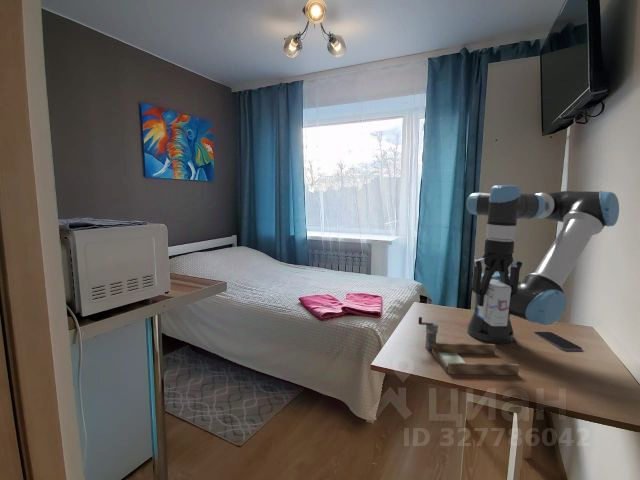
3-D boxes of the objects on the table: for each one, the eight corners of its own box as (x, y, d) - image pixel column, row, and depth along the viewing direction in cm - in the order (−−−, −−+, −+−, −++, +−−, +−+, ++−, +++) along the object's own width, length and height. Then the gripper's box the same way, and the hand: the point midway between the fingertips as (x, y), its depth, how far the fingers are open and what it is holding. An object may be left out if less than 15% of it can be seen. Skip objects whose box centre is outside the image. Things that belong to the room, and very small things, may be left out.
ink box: (475, 315, 106) (479, 278, 104) (490, 315, 106) (495, 278, 104) (491, 326, 97) (496, 286, 95) (507, 326, 98) (513, 286, 96)
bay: (487, 347, 114) (490, 317, 112) (518, 375, 97) (522, 339, 95) (415, 346, 114) (417, 315, 112) (432, 373, 97) (435, 337, 95)
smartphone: (551, 331, 128) (584, 348, 114) (550, 334, 129) (583, 352, 114) (532, 331, 128) (563, 348, 113) (532, 334, 128) (563, 352, 113)
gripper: (522, 238, 102) (514, 312, 105) (463, 236, 102) (456, 311, 105) (539, 242, 95) (529, 322, 98) (474, 240, 94) (467, 320, 97)
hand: (491, 316), depth 101 cm, fingers closed on ink box, 5 cm apart
